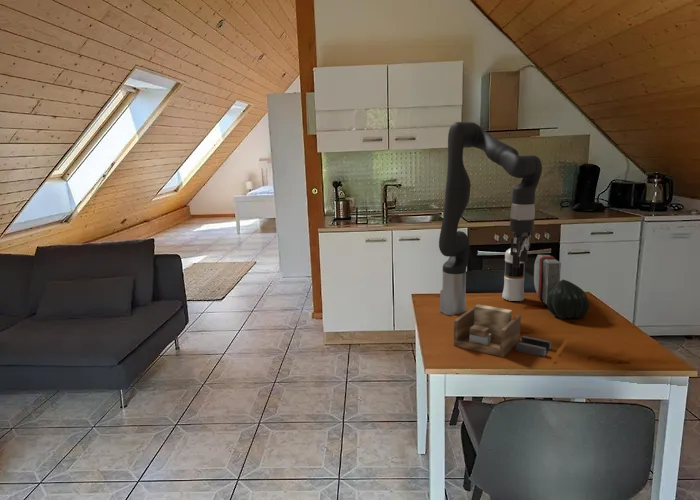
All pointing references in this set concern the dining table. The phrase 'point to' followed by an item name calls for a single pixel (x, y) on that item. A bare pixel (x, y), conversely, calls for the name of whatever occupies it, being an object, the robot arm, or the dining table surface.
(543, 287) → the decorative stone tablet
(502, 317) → the beige rectangular slab
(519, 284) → the vodka
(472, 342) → the offcut
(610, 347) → the dining table surface
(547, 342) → the stand
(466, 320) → the rack
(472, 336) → the offcut
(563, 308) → the squash
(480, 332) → the offcut
